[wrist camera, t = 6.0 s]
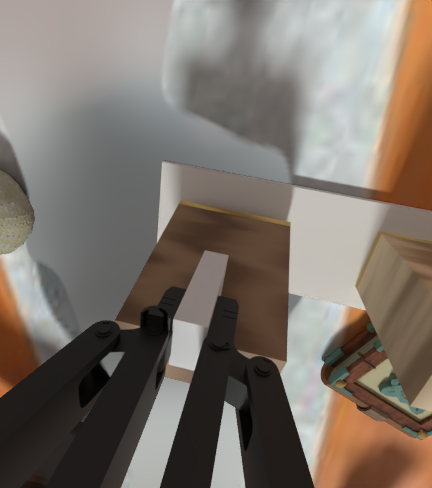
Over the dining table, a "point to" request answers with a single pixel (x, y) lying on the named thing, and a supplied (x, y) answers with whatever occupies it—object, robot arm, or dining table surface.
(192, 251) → the walnut block
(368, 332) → the decorative book
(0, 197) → the sea urchin shell
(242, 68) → the dining table surface
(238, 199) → the felt mat
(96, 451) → the robot arm
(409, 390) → the oak block
